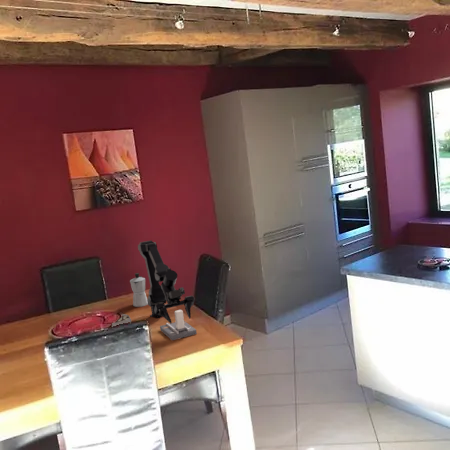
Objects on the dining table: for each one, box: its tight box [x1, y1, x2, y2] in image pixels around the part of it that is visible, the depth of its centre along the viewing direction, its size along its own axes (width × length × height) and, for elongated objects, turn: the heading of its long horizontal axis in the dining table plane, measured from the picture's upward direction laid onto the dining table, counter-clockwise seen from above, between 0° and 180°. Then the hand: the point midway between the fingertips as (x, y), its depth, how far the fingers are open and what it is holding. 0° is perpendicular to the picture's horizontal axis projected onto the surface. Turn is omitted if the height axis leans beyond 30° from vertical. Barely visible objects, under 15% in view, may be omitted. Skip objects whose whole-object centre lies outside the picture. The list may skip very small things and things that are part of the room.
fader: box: [173, 309, 186, 332], centre depth 229 cm, size 3×4×9 cm
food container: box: [111, 313, 132, 328], centre depth 231 cm, size 12×6×10 cm, turn 168°
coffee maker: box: [129, 272, 148, 308], centre depth 281 cm, size 15×9×18 cm, turn 179°
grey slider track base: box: [159, 320, 197, 341], centre depth 234 cm, size 16×12×3 cm
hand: (180, 320), depth 228 cm, fingers open, 9 cm apart
